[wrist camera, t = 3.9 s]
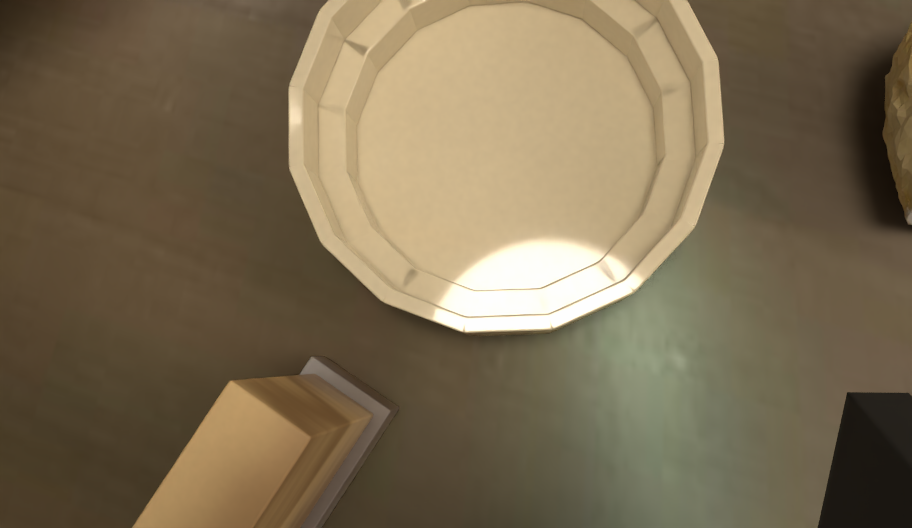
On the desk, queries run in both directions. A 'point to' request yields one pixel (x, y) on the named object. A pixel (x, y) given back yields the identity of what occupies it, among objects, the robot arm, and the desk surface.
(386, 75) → the bowl
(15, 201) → the desk surface
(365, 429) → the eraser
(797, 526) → the desk surface
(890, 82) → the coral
